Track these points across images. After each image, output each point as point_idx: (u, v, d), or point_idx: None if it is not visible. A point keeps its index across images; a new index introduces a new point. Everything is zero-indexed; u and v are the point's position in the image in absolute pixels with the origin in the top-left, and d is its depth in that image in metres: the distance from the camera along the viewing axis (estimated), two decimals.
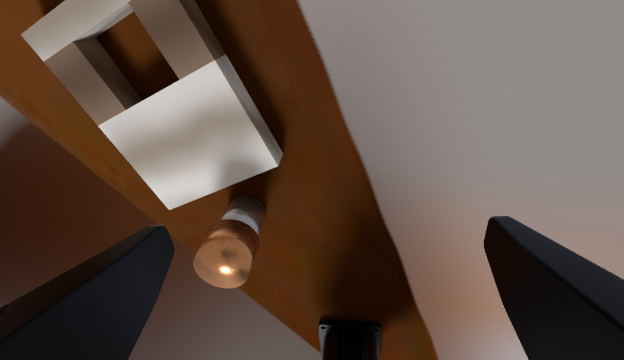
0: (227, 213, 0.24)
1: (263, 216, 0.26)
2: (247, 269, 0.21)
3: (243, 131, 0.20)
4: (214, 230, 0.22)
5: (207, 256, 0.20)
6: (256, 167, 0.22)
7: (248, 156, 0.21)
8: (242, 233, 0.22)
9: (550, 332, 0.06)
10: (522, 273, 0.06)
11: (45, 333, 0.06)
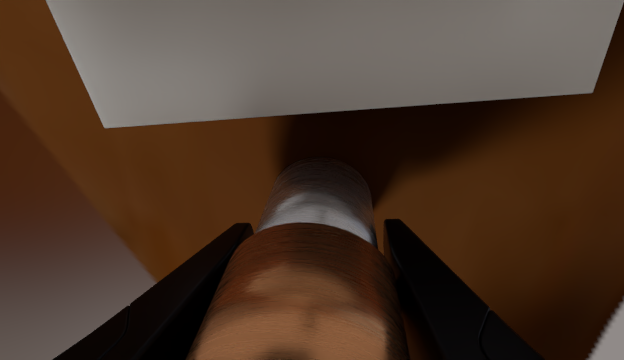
0: (303, 198, 0.07)
1: None
2: None
3: None
4: (285, 263, 0.05)
5: None
6: (512, 71, 0.06)
7: (520, 13, 0.05)
8: (392, 303, 0.05)
9: (406, 329, 0.06)
10: None
11: (175, 336, 0.05)
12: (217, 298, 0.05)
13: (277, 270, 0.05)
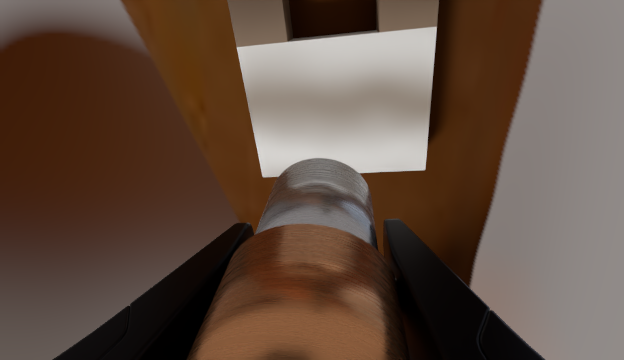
0: (303, 199, 0.07)
1: None
2: None
3: (413, 119, 0.17)
4: (286, 264, 0.05)
5: None
6: (400, 163, 0.18)
7: (399, 148, 0.18)
8: (393, 304, 0.05)
9: (406, 329, 0.06)
10: None
11: (175, 336, 0.05)
12: (217, 299, 0.05)
13: (277, 271, 0.05)
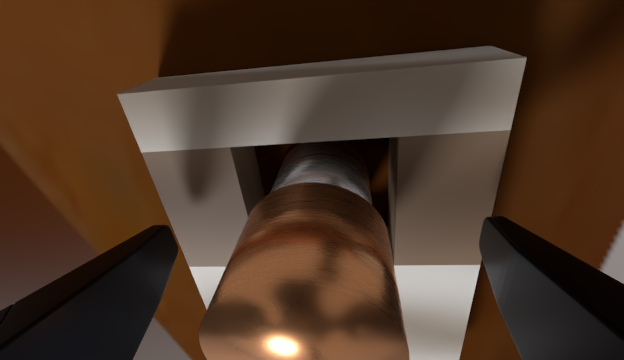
0: (309, 168, 0.09)
1: None
2: None
3: (438, 347, 0.12)
4: (297, 209, 0.06)
5: (278, 308, 0.05)
6: None
7: None
8: (384, 244, 0.07)
9: (543, 332, 0.06)
10: (516, 273, 0.06)
11: (51, 333, 0.06)
12: (242, 239, 0.07)
13: (291, 214, 0.06)
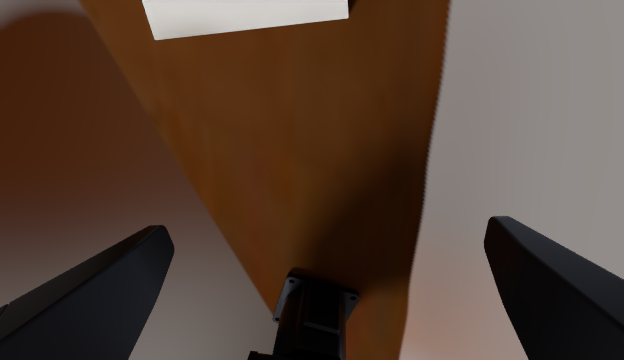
0: None
1: None
2: None
3: None
4: None
5: None
6: (316, 9, 0.15)
7: None
8: None
9: (550, 332, 0.06)
10: (522, 273, 0.06)
11: (45, 333, 0.06)
12: None
13: None
